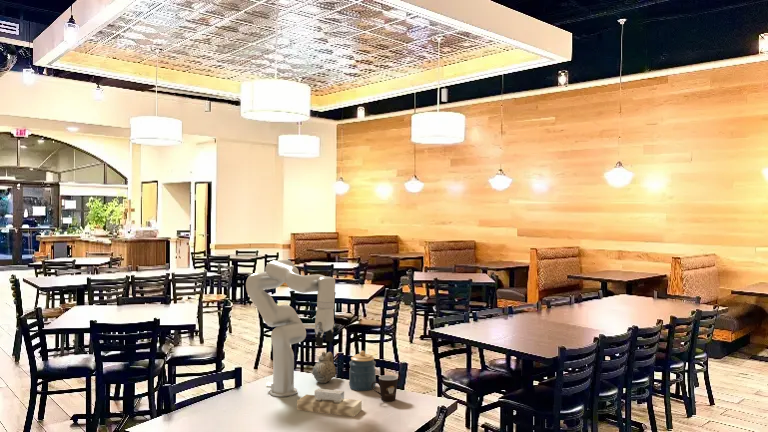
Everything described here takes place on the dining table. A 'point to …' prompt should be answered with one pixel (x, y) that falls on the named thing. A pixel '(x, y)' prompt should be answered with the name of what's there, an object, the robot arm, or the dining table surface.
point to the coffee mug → (387, 387)
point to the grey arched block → (329, 395)
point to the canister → (362, 372)
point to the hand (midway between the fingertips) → (324, 343)
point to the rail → (329, 406)
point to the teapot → (324, 368)
